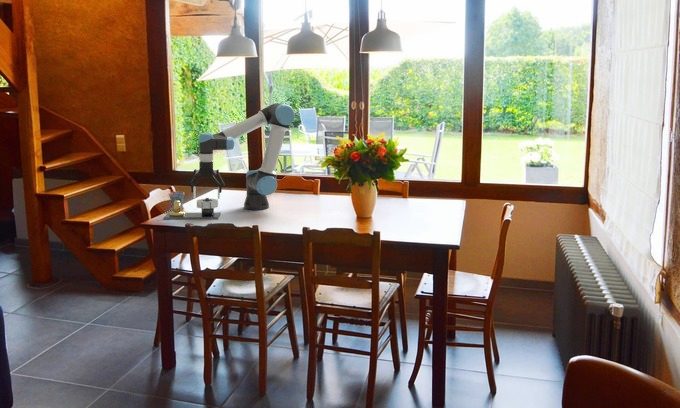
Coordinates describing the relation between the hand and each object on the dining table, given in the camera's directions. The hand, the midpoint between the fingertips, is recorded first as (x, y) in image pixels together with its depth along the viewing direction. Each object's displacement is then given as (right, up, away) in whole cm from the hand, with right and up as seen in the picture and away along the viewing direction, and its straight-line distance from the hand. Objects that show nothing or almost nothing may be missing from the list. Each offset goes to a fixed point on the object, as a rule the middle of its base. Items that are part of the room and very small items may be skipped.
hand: (206, 198), depth 382 cm
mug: (-21, -7, +21) cm, 30 cm away
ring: (0, -5, +1) cm, 5 cm away
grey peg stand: (-8, -11, +2) cm, 14 cm away
